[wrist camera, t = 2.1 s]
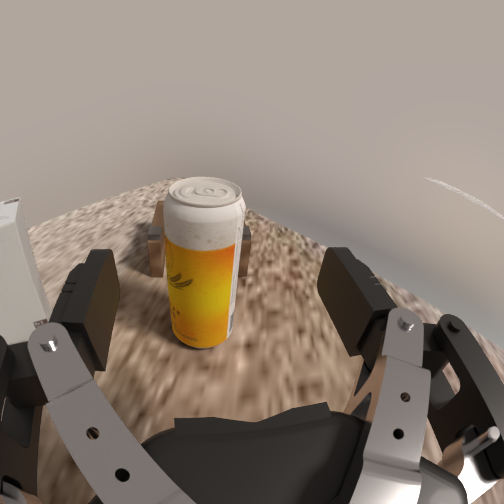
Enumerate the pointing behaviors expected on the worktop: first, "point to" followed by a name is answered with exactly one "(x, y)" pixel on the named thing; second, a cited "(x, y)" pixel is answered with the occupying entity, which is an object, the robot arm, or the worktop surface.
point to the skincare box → (19, 278)
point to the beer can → (203, 257)
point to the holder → (158, 245)
